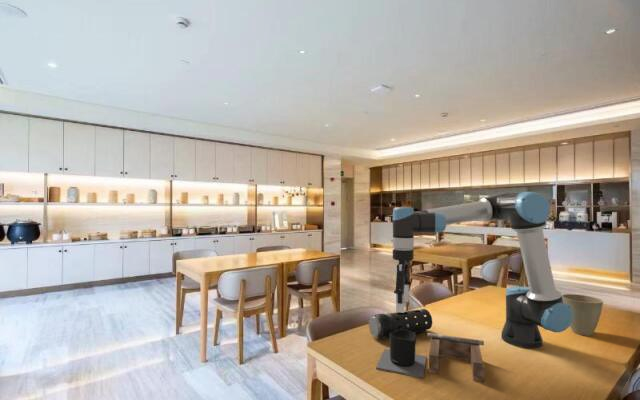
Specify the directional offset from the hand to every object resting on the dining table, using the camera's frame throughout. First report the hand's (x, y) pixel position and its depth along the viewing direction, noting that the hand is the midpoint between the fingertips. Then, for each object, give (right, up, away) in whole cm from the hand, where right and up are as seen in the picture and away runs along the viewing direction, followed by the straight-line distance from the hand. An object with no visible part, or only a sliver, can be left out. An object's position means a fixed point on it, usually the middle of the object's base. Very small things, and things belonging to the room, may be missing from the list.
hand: (402, 306), depth 121 cm
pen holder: (0, -20, 0) cm, 20 cm away
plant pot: (+90, -22, +31) cm, 98 cm away
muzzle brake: (+6, -21, +26) cm, 34 cm away
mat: (0, -21, 0) cm, 21 cm away
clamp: (+19, -21, -2) cm, 28 cm away
